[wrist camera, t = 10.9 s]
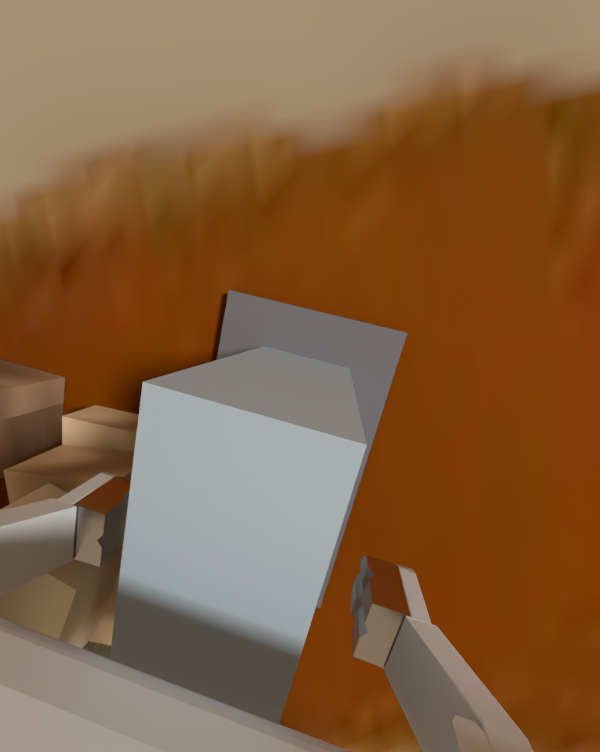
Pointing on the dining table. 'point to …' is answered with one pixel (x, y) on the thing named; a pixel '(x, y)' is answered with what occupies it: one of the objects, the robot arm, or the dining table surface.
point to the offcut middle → (67, 473)
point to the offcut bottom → (100, 428)
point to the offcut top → (62, 591)
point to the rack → (28, 413)
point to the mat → (319, 357)
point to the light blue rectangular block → (234, 522)
